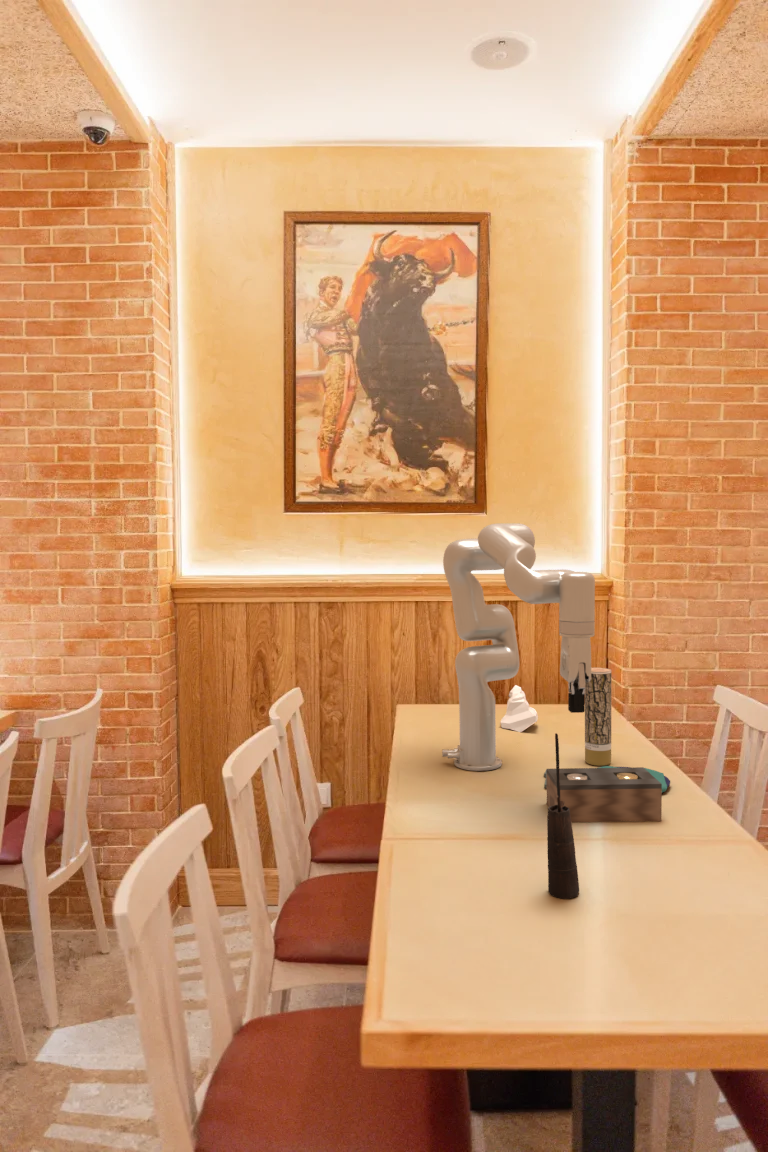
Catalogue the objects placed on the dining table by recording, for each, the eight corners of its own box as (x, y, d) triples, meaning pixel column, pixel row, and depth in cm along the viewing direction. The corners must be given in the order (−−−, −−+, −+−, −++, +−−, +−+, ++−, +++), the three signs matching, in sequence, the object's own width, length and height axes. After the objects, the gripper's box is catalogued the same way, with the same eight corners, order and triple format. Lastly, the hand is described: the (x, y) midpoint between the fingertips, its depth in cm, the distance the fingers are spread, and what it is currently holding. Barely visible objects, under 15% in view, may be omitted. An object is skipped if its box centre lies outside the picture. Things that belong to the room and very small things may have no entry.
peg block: (558, 822, 171) (558, 785, 171) (546, 803, 183) (546, 768, 183) (661, 820, 171) (661, 783, 171) (643, 801, 183) (643, 767, 183)
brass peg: (620, 810, 175) (620, 779, 175) (614, 803, 179) (614, 772, 179) (640, 810, 175) (640, 778, 175) (633, 803, 179) (634, 772, 179)
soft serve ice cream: (499, 737, 248) (488, 692, 250) (506, 729, 262) (496, 687, 264) (539, 729, 245) (527, 683, 246) (544, 722, 259) (532, 679, 260)
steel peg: (569, 811, 175) (569, 779, 175) (564, 804, 179) (564, 773, 179) (589, 811, 175) (589, 779, 175) (584, 804, 179) (584, 773, 179)
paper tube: (605, 768, 209) (605, 673, 208) (580, 763, 213) (580, 670, 212) (615, 762, 215) (615, 669, 213) (590, 758, 219) (591, 666, 218)
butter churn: (551, 873, 146) (551, 720, 144) (601, 887, 140) (601, 728, 138) (526, 891, 139) (525, 731, 137) (577, 907, 133) (577, 739, 131)
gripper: (552, 624, 183) (552, 704, 184) (567, 633, 168) (566, 720, 169) (585, 624, 183) (585, 704, 184) (603, 633, 168) (602, 719, 169)
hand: (576, 711), depth 177 cm, fingers closed
